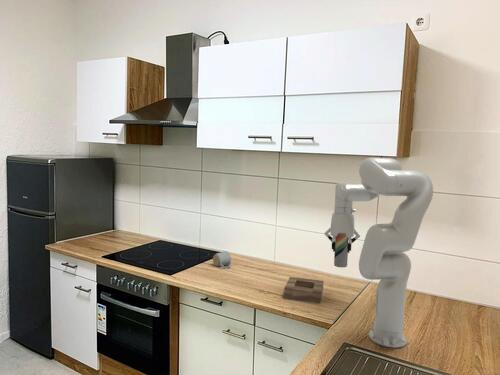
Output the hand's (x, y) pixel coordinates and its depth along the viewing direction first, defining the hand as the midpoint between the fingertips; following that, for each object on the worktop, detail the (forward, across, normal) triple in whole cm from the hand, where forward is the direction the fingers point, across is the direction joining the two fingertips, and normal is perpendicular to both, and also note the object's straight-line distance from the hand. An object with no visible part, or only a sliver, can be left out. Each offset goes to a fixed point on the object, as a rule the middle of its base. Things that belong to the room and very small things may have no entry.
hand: (341, 251), depth 168 cm
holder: (+22, +16, -1) cm, 27 cm away
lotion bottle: (+7, 0, 0) cm, 7 cm away
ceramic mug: (+21, +64, -30) cm, 74 cm away
